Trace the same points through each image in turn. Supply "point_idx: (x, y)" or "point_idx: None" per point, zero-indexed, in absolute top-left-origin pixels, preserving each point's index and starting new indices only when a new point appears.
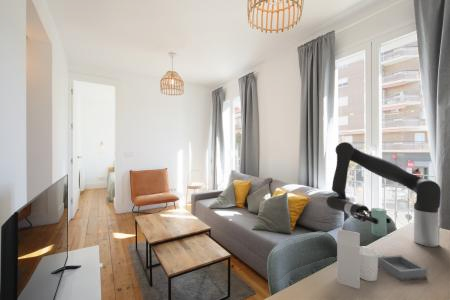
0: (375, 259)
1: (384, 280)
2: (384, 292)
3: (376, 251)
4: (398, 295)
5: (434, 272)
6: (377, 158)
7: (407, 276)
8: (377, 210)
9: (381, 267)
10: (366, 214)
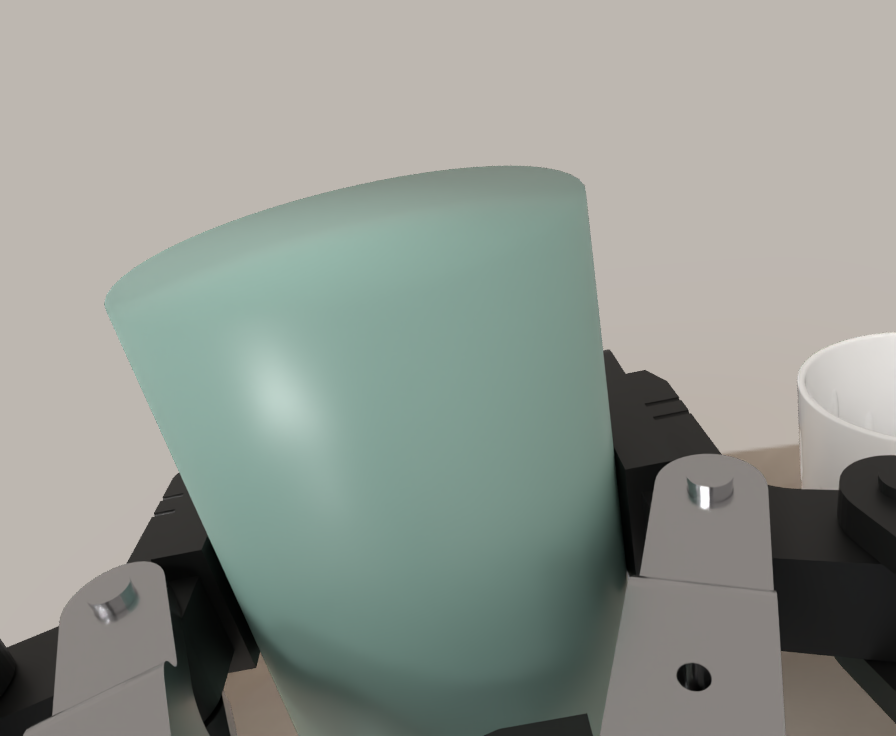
0: (845, 371)
1: None
2: None
3: (808, 394)
4: (725, 453)
5: (229, 694)
6: None
7: None
8: (456, 191)
9: None
10: (742, 588)
